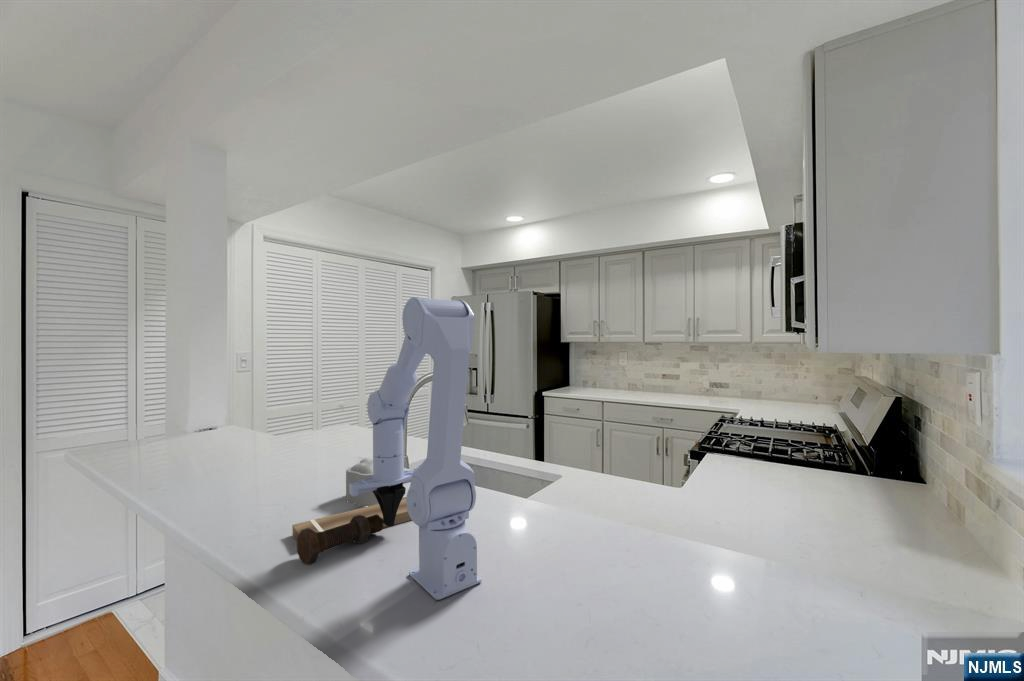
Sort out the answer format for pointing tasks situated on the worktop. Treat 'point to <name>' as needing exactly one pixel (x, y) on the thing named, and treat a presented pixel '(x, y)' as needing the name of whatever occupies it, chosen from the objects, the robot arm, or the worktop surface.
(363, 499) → the lumpy-topped squat cylinder
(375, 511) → the walnut board
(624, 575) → the worktop surface
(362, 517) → the bolt
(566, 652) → the worktop surface
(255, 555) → the worktop surface
